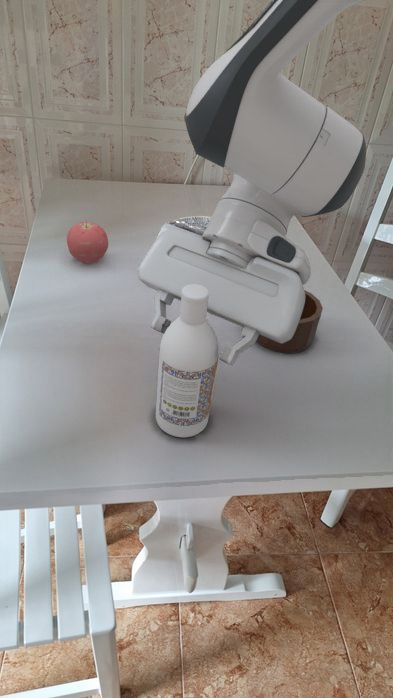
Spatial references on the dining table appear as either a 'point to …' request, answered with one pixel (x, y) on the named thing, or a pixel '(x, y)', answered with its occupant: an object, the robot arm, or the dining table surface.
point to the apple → (87, 242)
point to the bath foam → (187, 367)
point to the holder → (298, 329)
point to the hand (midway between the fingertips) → (190, 346)
